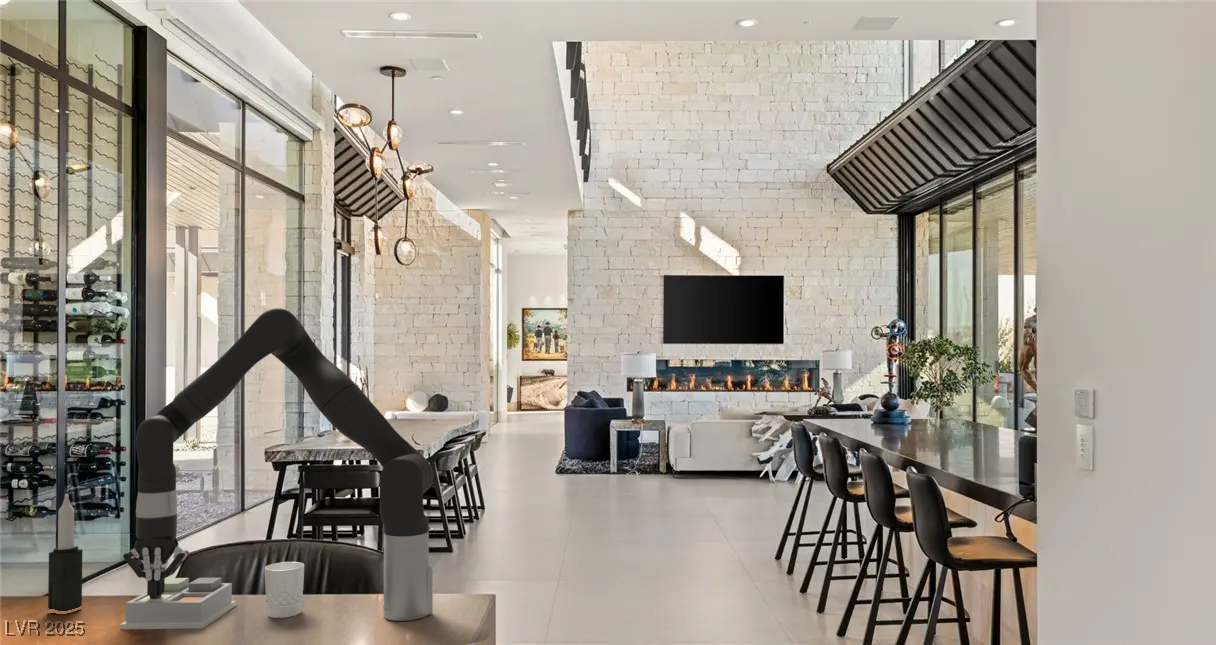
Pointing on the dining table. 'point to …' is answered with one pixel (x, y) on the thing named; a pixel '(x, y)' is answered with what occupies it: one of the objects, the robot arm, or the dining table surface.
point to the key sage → (176, 584)
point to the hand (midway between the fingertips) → (155, 597)
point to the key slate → (205, 585)
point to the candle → (65, 564)
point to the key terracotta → (191, 599)
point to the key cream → (162, 598)
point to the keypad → (179, 610)
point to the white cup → (284, 589)
